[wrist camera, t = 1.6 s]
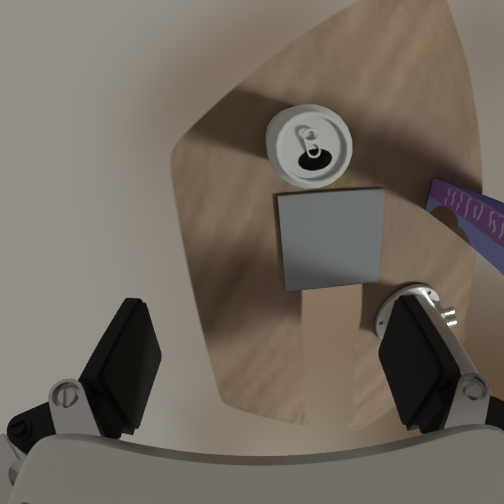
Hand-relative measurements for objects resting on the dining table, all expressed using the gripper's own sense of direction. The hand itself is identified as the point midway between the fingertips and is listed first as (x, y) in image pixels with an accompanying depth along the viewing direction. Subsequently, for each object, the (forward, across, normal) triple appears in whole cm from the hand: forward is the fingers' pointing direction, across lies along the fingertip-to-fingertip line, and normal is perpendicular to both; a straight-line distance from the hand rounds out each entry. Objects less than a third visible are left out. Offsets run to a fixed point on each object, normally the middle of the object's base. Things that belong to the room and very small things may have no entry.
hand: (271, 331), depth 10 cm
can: (+27, -4, -5) cm, 28 cm away
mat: (+27, -9, +9) cm, 30 cm away
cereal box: (+27, -32, +3) cm, 42 cm away
